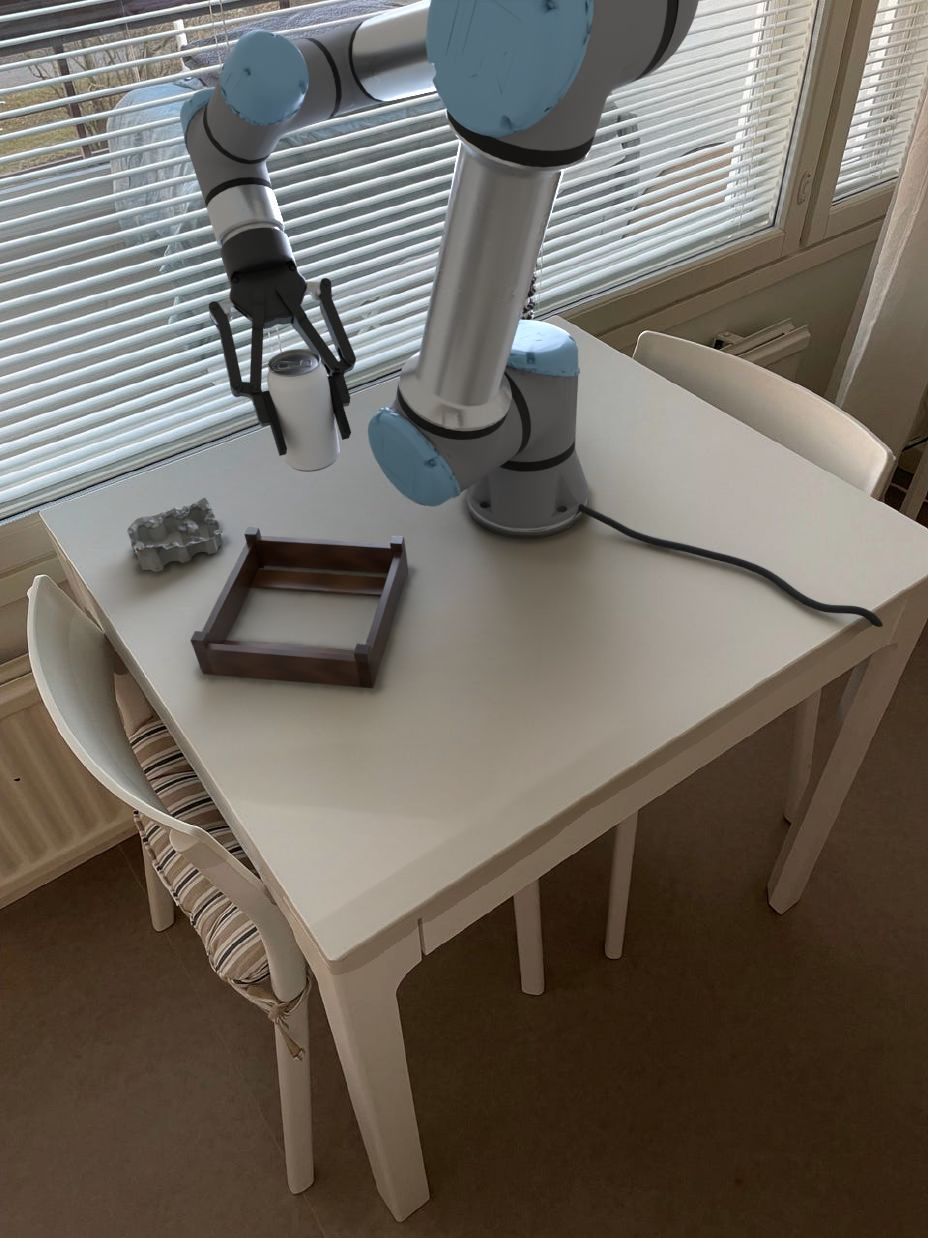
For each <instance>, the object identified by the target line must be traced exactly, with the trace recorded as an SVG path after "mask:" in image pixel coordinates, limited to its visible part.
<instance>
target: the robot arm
mask: <svg viewBox="0 0 928 1238" xmlns="http://www.w3.org/2000/svg"><path fill="white" fill-rule="evenodd" d="M699 1H700V0H420V1H417V2H414V3H412V4H408V5H405V6H402V7H399V8H396V9H393V10H390V11H387V12H384V13H381V14H378V15H375V16H372V17H370V18H367V19H363V20H359V21H356V22H354V23H351V24H348V25H345V26H342V27H339V28H336V29H332V30H328V31H326V32H322V33H318V34H316V35H312V36H309V37H304V38H301V39H296V40H293V41H291V40H290V39H289V38H287V37H285V36H284V35H283V34H281V33H279V32H272V31H271V32H270V31H267V30H266V29H262V28H259V29H253V30H249V31H248V32H246V33H244V34H243V35H242V36H241V37H240V38H239V39H238V40H237V41H236V43H235V45H234V47H233V48H232V50H231V52H230V54H229V55H227V57H226V58H225V60H224V63H223V64H222V67H221V70H220V74H219V76H218V78H217V81H216V84H215V85H214V86H212V87H206V88H203V89H200V90H197V91H196V92H194V93H193V95H192V97H191V98H187V99H185V101H184V102H183V103H182V106H181V108H180V113H179V120H180V124H181V128H182V133H183V141H184V145H185V149H186V151H187V153H188V155H189V158H190V161H191V163H192V166H193V170H194V173H195V176H196V179H197V183H198V186H199V189H200V193H201V195H202V198H203V201H204V204H205V207H206V210H207V214H208V218H209V220H210V225H211V227H212V230H213V231H212V232H213V233H214V238H215V240H216V241H215V242H216V244H217V246H218V247H219V248H220V250H219V251H220V252H219V253H220V257H221V261H222V264H223V267H224V271H225V274H226V276H227V279H228V280H227V281H228V283H229V287H230V291H229V297H227V298H224V299H223V300H221V301H219V302H218V301H216V300H212V301H210V302H209V303H208V313H209V317H210V319H211V322H212V323H213V325H214V326H215V327H216V330H217V331H218V334H219V339H220V343H221V348H222V354H223V358H224V363H225V368H226V372H227V377H228V381H229V386H230V392H231V395H232V396H233V397H234V398H241V397H242V398H248V399H250V401H251V403H252V406H253V409H254V411H255V415H256V418H257V422H258V424H259V425H260V426H261V427H262V428H263V427H267V426H270V430H271V433H272V435H273V439H274V443H275V446H276V450H277V452H278V455H279V457H281V456H283V455H285V454H286V453H287V446H286V443H285V440H284V436H283V433H282V430H281V427H280V423H279V420H278V417H277V414H276V410H275V407H274V404H273V401H272V397H271V395H270V392H269V389H268V390H263V389H262V380H263V379H262V376H263V353H264V352H263V351H264V330H267V329H271V328H274V327H275V326H277V325H282V326H286V325H289V324H290V325H291V327H292V328H293V329H294V331H295V332H297V333H298V335H299V336H300V338H301V339H302V340H303V342H304V343H305V344H306V347H308V350H310V351H313V352H315V353H317V354H318V355H319V356H320V358H321V363H322V364H323V365H324V367H325V369H326V371H327V376H328V381H329V387H330V393H331V399H332V404H333V410H334V416H335V422H336V426H337V429H338V430H339V434H340V437H341V441H343V440H344V441H345V440H349V439H350V436H351V434H352V429H351V426H350V423H349V419H348V417H347V413H346V411H345V408H346V407H349V406H350V404H351V395H350V392H349V389H348V385H347V381H346V378H345V374H347V373H348V372H351V371H353V369H354V368H355V365H356V362H357V357H356V355H355V352H354V349H353V347H352V344H351V342H350V340H349V337H348V334H347V331H346V330H345V327H344V325H343V323H342V320H341V317H340V315H339V312H338V310H337V307H336V305H335V303H334V302H335V301H334V300H333V291H332V281H331V280H330V279H329V278H328V277H323V278H321V280H320V281H312V280H311V281H310V280H306V278H305V277H304V276H303V274H301V272H300V271H299V269H298V267H297V262H296V259H295V256H294V253H293V250H292V247H291V243H290V240H289V237H288V234H286V232H285V227H286V226H285V223H284V221H283V217H282V213H281V211H280V209H279V205H278V202H277V198H276V196H275V192H274V189H273V186H272V182H271V179H270V175H269V172H268V168H267V160H268V159H269V157H270V156H271V155H272V153H273V151H274V150H275V148H276V146H277V145H278V143H279V141H280V139H281V138H282V137H283V136H284V135H286V134H289V133H291V132H294V131H297V130H300V129H303V128H306V127H309V126H311V125H315V124H317V123H322V122H324V121H326V120H329V119H332V118H333V117H337V116H340V115H343V114H346V113H350V112H353V111H356V110H359V109H362V108H366V107H371V106H376V105H379V104H384V103H388V102H390V101H394V100H398V99H403V98H408V97H412V96H417V95H421V94H425V93H431V92H435V91H436V94H437V95H438V97H439V99H440V101H441V104H442V105H443V106H444V108H445V117H446V121H447V124H448V126H449V128H450V129H451V131H452V132H453V134H454V135H455V136H456V137H457V139H458V140H459V145H458V150H457V153H456V160H455V165H454V169H453V170H454V171H453V175H452V181H451V185H450V186H451V188H450V192H449V196H448V203H447V207H446V211H445V212H446V213H445V218H444V222H443V229H442V233H441V239H440V244H439V248H438V249H439V250H438V255H437V259H436V264H435V265H436V266H435V269H434V276H433V281H432V285H431V291H430V296H429V301H428V307H427V312H426V317H425V322H424V326H423V328H424V329H423V333H422V337H421V343H420V347H419V351H418V352H416V353H415V354H413V355H412V356H410V357H409V358H408V359H407V360H406V362H404V364H403V366H402V368H401V371H400V373H399V378H398V384H397V388H396V395H395V399H394V401H393V402H392V403H391V404H390V405H389V406H387V407H381V408H379V409H378V412H377V413H375V414H374V415H373V416H372V417H371V418H370V420H369V422H368V426H367V437H368V443H369V446H370V449H371V452H372V455H373V457H374V459H375V461H376V463H377V464H378V466H379V468H380V470H381V471H382V473H383V474H384V476H385V477H386V479H388V481H389V482H390V483H391V484H392V485H393V487H394V488H395V489H396V490H397V491H398V492H399V493H400V494H402V495H403V496H404V497H405V498H407V499H408V500H410V501H412V502H413V503H415V504H417V505H419V506H423V507H431V508H432V507H437V506H438V507H439V506H440V505H443V504H444V503H446V502H448V501H449V500H451V499H455V498H458V497H459V496H460V495H461V494H462V493H463V492H465V491H466V497H467V498H466V501H467V508H468V511H469V513H470V515H471V517H472V518H473V519H474V520H475V521H476V522H477V523H478V524H479V525H480V526H482V527H483V528H485V529H486V530H488V531H490V532H492V533H495V534H498V535H502V536H506V537H511V538H519V539H535V538H536V539H537V538H542V537H543V538H544V537H548V536H552V535H556V534H558V533H561V532H563V531H565V530H567V529H569V528H571V527H572V526H574V525H575V524H577V523H578V521H580V520H581V518H582V517H583V516H584V515H587V516H589V517H591V518H592V519H595V520H597V521H598V522H601V523H602V524H605V525H607V526H608V527H610V528H613V530H616V531H617V532H620V533H621V534H623V535H625V536H626V537H627V536H628V537H629V538H632V539H634V540H636V541H639V542H642V543H646V544H649V545H653V546H656V547H660V548H665V549H670V550H675V551H679V552H684V553H687V554H688V553H689V554H692V555H696V556H699V557H703V558H707V559H711V560H715V561H718V562H722V563H726V564H730V565H732V566H736V567H739V568H742V569H745V570H748V571H750V572H752V573H755V574H757V575H759V576H761V577H763V578H764V579H767V580H768V581H770V582H772V583H773V584H774V585H775V586H777V587H778V588H780V589H781V590H782V591H783V592H785V593H786V594H787V595H788V596H790V597H791V598H792V599H794V600H796V602H799V603H801V604H803V605H804V606H806V607H808V608H810V609H813V610H816V611H819V612H823V613H828V614H829V613H830V614H845V615H846V614H847V615H856V616H861V617H863V618H865V619H866V620H867V621H869V622H870V623H871V625H873V626H874V627H877V628H882V627H883V626H884V624H883V622H882V620H881V619H880V618H879V617H878V616H877V615H876V614H875V613H874V612H872V611H871V610H869V609H867V608H865V607H861V606H857V605H848V604H847V605H846V604H845V605H843V604H829V603H823V602H819V601H817V600H814V599H812V598H811V597H809V596H806V595H805V594H803V593H801V592H800V591H799V590H797V589H796V588H794V587H793V586H791V584H790V583H788V582H787V581H786V580H784V579H783V578H781V577H780V576H779V575H778V574H776V573H774V572H772V571H771V570H769V569H768V568H767V569H766V568H765V567H763V566H761V565H759V564H756V563H753V562H751V561H748V560H745V559H743V558H739V557H736V556H733V555H729V554H725V553H721V552H716V551H714V550H708V549H705V548H702V547H698V546H694V545H689V544H686V543H681V542H677V541H672V540H666V539H663V538H658V537H655V536H651V535H647V534H644V533H642V532H639V531H636V530H634V529H632V528H630V527H628V526H626V525H624V524H623V523H620V522H618V521H617V520H615V519H613V518H612V517H609V516H607V515H605V514H603V513H601V512H599V511H597V510H595V509H593V508H591V507H590V506H588V501H589V489H588V483H587V482H588V481H587V479H586V475H585V473H584V470H583V467H582V465H581V464H582V463H581V462H580V458H579V456H578V452H577V449H576V437H577V416H578V415H577V413H578V412H577V411H578V391H579V375H580V374H581V368H580V367H579V347H578V344H577V342H576V340H575V339H574V336H572V335H571V334H570V333H569V332H568V331H566V330H564V329H563V328H561V327H559V326H556V325H554V324H551V323H549V322H548V323H547V322H544V321H540V320H539V321H538V320H533V319H532V320H520V318H521V314H522V311H523V308H524V304H525V301H526V298H527V294H528V291H529V287H530V284H531V281H532V277H533V274H534V273H535V271H536V268H537V267H536V264H537V265H538V261H539V256H540V253H541V250H542V246H543V243H544V240H545V237H546V234H547V233H546V232H547V229H548V226H549V224H550V219H551V216H552V212H553V209H554V205H555V203H556V200H557V196H558V192H559V189H560V185H561V182H562V179H563V176H564V172H565V170H567V169H570V168H573V167H575V166H576V165H578V164H580V163H581V162H583V161H584V160H585V159H586V158H587V156H588V155H589V153H590V152H591V149H592V146H593V143H594V139H595V136H596V133H597V131H598V128H599V124H600V121H601V118H602V115H603V112H604V109H605V107H606V106H605V105H606V103H607V100H608V97H609V96H610V94H611V92H614V91H616V90H619V89H621V88H624V87H626V86H628V85H631V84H633V83H635V82H637V81H638V80H641V79H643V78H646V77H649V76H650V75H651V74H653V73H655V72H656V71H657V70H658V69H660V68H661V67H662V66H664V64H666V63H667V62H668V61H669V60H670V58H672V56H674V54H675V53H677V51H678V49H679V48H680V47H681V45H682V43H683V42H684V41H685V39H686V37H687V36H688V33H689V32H690V30H691V28H692V25H693V22H694V20H695V16H696V13H697V10H698V5H699ZM535 267H536V268H535ZM534 275H535V274H534ZM306 294H308V295H310V296H311V299H312V301H313V302H314V303H316V304H318V306H319V310H320V313H321V316H322V318H323V321H324V324H325V326H326V328H327V331H328V334H329V336H330V338H331V342H332V343H333V346H334V348H335V350H336V353H337V355H338V358H339V360H338V359H337V358H336V356H335V355H334V352H332V350H331V348H330V347H329V346H328V344H327V343H326V342H325V340H324V339H323V337H322V336H321V335H320V333H319V332H318V330H317V329H316V327H315V326H314V325H313V323H312V322H311V320H310V319H309V318H308V315H307V313H306V311H305V310H304V309H303V307H302V305H303V301H304V299H305V296H306ZM233 310H235V311H237V312H238V313H239V314H241V315H242V316H243V317H245V318H246V319H247V320H248V321H249V322H251V342H250V344H251V345H250V366H249V367H250V368H249V369H250V370H249V382H248V381H243V379H242V375H241V370H240V365H239V359H238V355H237V352H236V346H235V341H234V336H233V332H232V326H231V322H232V321H233Z"/></svg>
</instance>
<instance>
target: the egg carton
mask: <svg viewBox="0 0 928 1238" xmlns="http://www.w3.org/2000/svg"><path fill="white" fill-rule="evenodd" d="M126 531H127V534H128V539H129V541H130V542H131V550H132V553H133V554H136V556H137V558H138V560H139V563H140V566H141V569H142V571H147V570H149V571H153V572H161V571H163V570H164V567H165V566H166V565H167V564H169V563H171V562H180V563H182V564H184V563H186V562H189V561H191V560H192V558H193V556H194V555H196V554H197V553H202V552H203V553H207V554H208V555H212V554H216V553H217V552H218V549H219V547H221V546H222V545H223V544H224V540H223V536H222V533H223V529H222V527H221V526H220V524H219V521H218V519H217V517H216V515H215V512H214V510H213V509H212V507H211V505H210V502H209V501H208V499H207V498H206V497H203V498H202V499H200V500H198V501H196V502H193V503H191V504H190V505H188V506H186V505H183V506H182V507H181V508H178V507H173V508H171V509H170V510H167V511H163V512H160V513H158V514H155V515H150V516H149V515H148V516H141V517H138V518H136V519H135V520H134V521H132V523H131V524H130V525H129V526H128V528H127V530H126Z"/></svg>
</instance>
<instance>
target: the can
mask: <svg viewBox="0 0 928 1238" xmlns="http://www.w3.org/2000/svg"><path fill="white" fill-rule="evenodd" d="M267 369H268V371H267V375H266V383H267V388H268V390H269V392H270V395H271V397H272V401H273V404H274V407H275V410H276V414H277V417H278V420H279V423H280V427H281V430H282V433H283V436H284V440H285V443H286V446H287V453H286V454H285V455H282V456H283V459H284V462H285V464H286V465H287V466H289V467H290V468H292V469H293V470H296V471H299V472H305V473H312V472H319V471H322V470H324V469H327V468H329V467H330V466H332V465H333V464H334V463H335V462H336V461H337V460H338V458H339V456H340V453H341V450H340V449H341V448H340V440H339V435H338V427H337V421H336V418H335V415H334V410H333V404H332V399H331V393H330V387H329V381H328V376H329V375H328V374H327V371H326V369H325V367H324V365H323V364H322V363H321V358H320V356H319V355H318V354H317V353H315V352H313V351H311V350H310V349H304V348H295V349H289V350H284V351H281V352H279V353H277V354H275V355H274V356H272V357H271V358H270V359H269V360H268V362H267Z"/></svg>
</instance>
